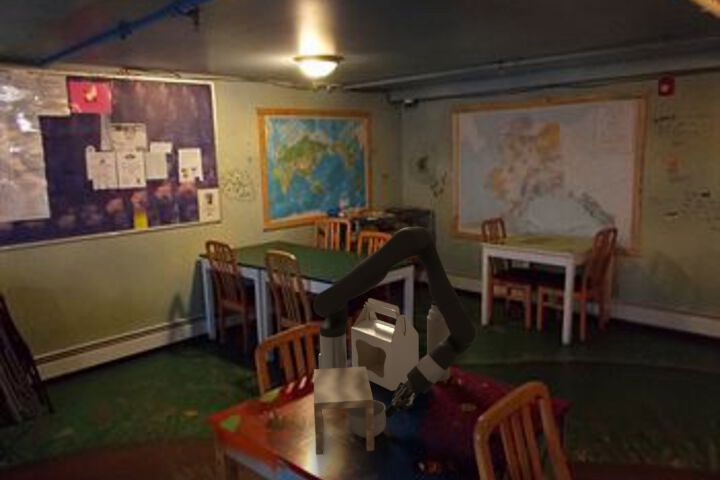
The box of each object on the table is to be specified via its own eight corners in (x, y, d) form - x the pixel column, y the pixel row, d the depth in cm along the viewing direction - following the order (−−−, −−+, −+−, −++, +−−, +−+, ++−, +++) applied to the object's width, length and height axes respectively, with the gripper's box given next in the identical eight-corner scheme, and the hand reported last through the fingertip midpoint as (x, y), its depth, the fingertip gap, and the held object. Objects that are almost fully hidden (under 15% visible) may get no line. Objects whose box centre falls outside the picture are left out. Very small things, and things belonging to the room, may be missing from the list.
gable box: (351, 372, 207) (349, 299, 202) (378, 363, 215) (376, 292, 210) (392, 391, 190) (391, 312, 185) (419, 380, 198) (419, 304, 193)
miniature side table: (366, 411, 176) (365, 366, 174) (374, 450, 153) (373, 399, 151) (316, 414, 175) (314, 369, 172) (316, 454, 152) (313, 403, 150)
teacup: (382, 444, 157) (382, 417, 155) (345, 440, 159) (344, 414, 158) (390, 420, 170) (389, 395, 169) (355, 417, 172) (355, 393, 171)
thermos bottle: (427, 371, 205) (426, 298, 200) (449, 372, 204) (449, 298, 200) (427, 380, 197) (427, 304, 193) (450, 381, 196) (450, 304, 192)
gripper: (413, 356, 169) (374, 397, 170) (421, 374, 156) (379, 418, 157) (430, 372, 170) (391, 412, 172) (440, 390, 157) (398, 434, 159)
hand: (386, 415), depth 164 cm, fingers closed
